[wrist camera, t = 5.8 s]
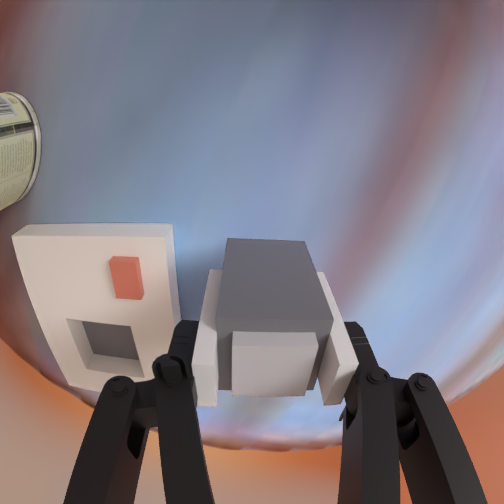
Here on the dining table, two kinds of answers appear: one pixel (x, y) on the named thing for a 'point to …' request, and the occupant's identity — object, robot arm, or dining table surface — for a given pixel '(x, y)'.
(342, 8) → the dining table surface
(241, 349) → the plug
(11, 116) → the coffee can
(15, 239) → the socket plate
